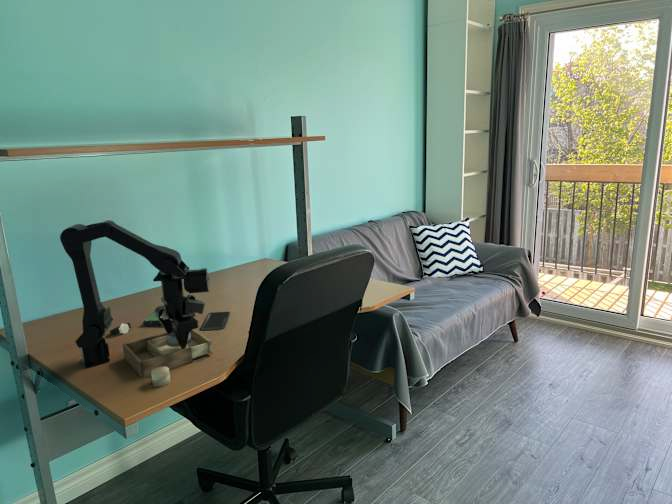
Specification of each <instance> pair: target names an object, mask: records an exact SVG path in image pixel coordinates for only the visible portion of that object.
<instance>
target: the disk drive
mask: <svg viewBox="0 0 672 504" xmlns="http://www.w3.org/2000/svg"><path fill="white" fill-rule="evenodd" d="M186 316H191V317H193V318H194V319H195V317H196V313H193V312H190V314H189V315H184V317H186ZM160 318H161V317H160ZM158 319H159V318H157V317H156V316H155V310H154V311H152V313H150V314H149V315H148V317H146V318H145V319H143V322H142V324H143V327H163V326H162V324H161V323H160V321H159V320H158Z"/></svg>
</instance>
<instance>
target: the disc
mask: <svg viewBox="0 0 672 504" xmlns="http://www.w3.org/2000/svg"><path fill="white" fill-rule="evenodd" d="M190 342H191V333H190V332H189V336H188V340H187V344H188V343H190ZM166 344H167V345H168V346H171V347H178V346H180V345H179V343H178V341H177V339H176V337H175V335H174V333H173V332H172V333H170V334H168V335H167V336H166Z"/></svg>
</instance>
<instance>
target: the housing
mask: <svg viewBox="0 0 672 504" xmlns="http://www.w3.org/2000/svg"><path fill="white" fill-rule="evenodd" d="M167 335H168V334H167V332H166V331H165V332H163V333H159V334H156V335H155V334H154V335H153V336H152V335H151V336H148V337H145V338H140V339H137V340H133V341H130V342H126V343H123V344H122V349H123V357H124V360H125V361H126V362H127V363H128V364H129V365H130V366H131V367H132V368H133V369H134V370H135V372H136V373H137V374H138V375H139V377H141V378H142V379H145V378H147V377H150V376H151V377H152V375H151V371H152V370H153V369H154V368H157V367H162V366H164V367H168V368H169V371H170V370H173V369H175V368H176V369H177V368H179V367H182V366H186V365H189V364H191V363H192V364H193V363H194V360H193V358H192V351H191V347H188V348H185V349H181V350H178V351H175V352H171V353H168V354H164V355H161V356H158V357H154V356H153V355H152V354H151V353H150V352H149V351H148V346H147V341H148V340H152V339H156V338H159V337H163V336H167Z"/></svg>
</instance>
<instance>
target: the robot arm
mask: <svg viewBox="0 0 672 504" xmlns="http://www.w3.org/2000/svg"><path fill="white" fill-rule="evenodd" d="M101 238H107V239H109V240H111V241H113V242H114V243H117V244H119V245H120V246H122V247H124V248H125V249H127V250H130V251H132V252H133V253H135V254H137V255H139V256H140V257H142V258H144V259H146V260H147V261H148V262H149V263H150V265H152V266H153V267H154V268H156V269H157V270H158V272H157V275H155V276H154V278H153V279H152V281H153V282H160V284H161V285H160V286H161V292H162V293H161V294H162V297H160V301H161V303H163V305H159V306H157V307H155V309H154V311H155V316H156V317H157V318H159V319H158V320H159V321H160V323H161V324H162V326H161V327H162V328H163V329H164V330H165V333H166V332H167V334H170V333H172V332H173V333H174V335H175V337H176V339H177V341H178V343H179V345H180V347H181V349H185V348H186V345H187V340H188V336H189V332H190V331H191V330H193V329H195V330H197V329H199V326H200V325H199V320H197V319H196V318H195V317H194V318H193V317H191V316H186V317H184V315H189V314H190V312H193V313H195V314H199V315H203V313H204V310H205V306H206V303H205V302H203V301H201V300H199V299H196V296H195V295H193V294H198V293H199V294H200V293H202V294H203V293H209V292H211V281H210V279H211V278H210V276H209V272H208V268H206V267H205V268H200V269H198V268H197V269H190V267H189V266H188V265H187V264H186V263H185V262H184V261H183V260H182V256H181V254H180V252H178V251H177V250H175V249H173V248H170V247H167V246H164V245H158V244H155V243H152V242H151V241H148V240H146V239H144V238H143V237H141V236H140V235H137V234H135V233H133V232H131V230H129V229H127V228H124V227H123V226H120V225H119V224H117V223H115V221H113V220H109V219H108V220H105V221H101V222H96V223H91V224H87V225H85V224H82V223H76V224H73V225H71V226H69V227H67V228H65V229H63V230H62V232H61V233H60V235H59V240H60V243H61V245H62V247H63V249H64V251H65V253H66V254H67V256H68V257H69V258H70V259H71V262H72V265H73V268H74V274H75V277H76V282H77V286H78V289H79V293H80V298H81V301H82V306H83V313H82V323H81V324H82V333H81V334H80V336H78V338H77V339H76V340H75V341H74V342H75V344H76V346H77V347H78V349H80V356H81V359H80V362H81V363H82V364H83V366H84V367H85V368H91V367H93V366H94V367H95V366H97V365H101V364H105V363H108V362H110V361H111V358H110V357H111V355H110V349H109V343H107V341H106V339H105V335H106V333H107V332H108V330H109V329H110V328H111V326H112V322H113V321H114V318H113V317H112V314H111V307H110V306H109V307H105V306H104V305H103V304H102V302H101V297H100V294H99V293H100V292H99V288H98V283H97V280H96V276H95V271H94V268H93V263H92V258H91V252H92V251H91V250H92V241H95V240H97V239H101ZM184 291H185V292H187V293H189V294H187V296H185V294H184ZM160 317H161V318H160Z"/></svg>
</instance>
